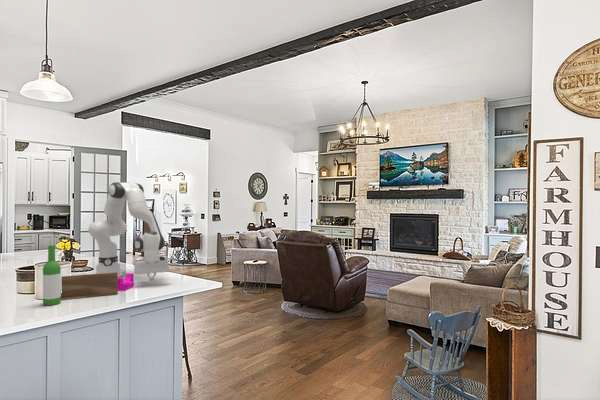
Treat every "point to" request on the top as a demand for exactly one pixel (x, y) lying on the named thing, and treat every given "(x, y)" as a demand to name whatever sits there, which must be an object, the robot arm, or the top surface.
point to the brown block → (89, 285)
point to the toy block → (125, 282)
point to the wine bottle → (51, 279)
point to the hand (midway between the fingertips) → (151, 280)
